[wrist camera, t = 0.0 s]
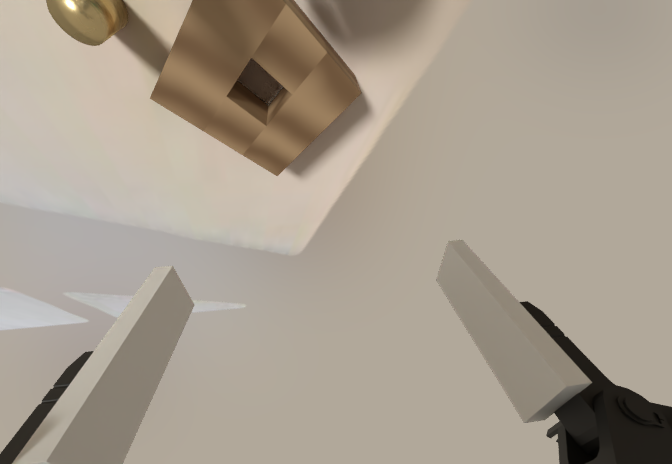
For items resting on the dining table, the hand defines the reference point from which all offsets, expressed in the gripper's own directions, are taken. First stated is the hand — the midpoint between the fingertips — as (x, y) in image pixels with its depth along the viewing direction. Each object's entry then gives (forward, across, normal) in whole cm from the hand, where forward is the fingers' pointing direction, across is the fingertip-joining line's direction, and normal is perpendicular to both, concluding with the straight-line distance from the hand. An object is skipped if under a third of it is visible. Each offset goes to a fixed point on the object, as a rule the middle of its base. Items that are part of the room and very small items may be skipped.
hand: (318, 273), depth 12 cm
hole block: (+27, -5, +8) cm, 28 cm away
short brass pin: (+25, -18, +14) cm, 34 cm away
